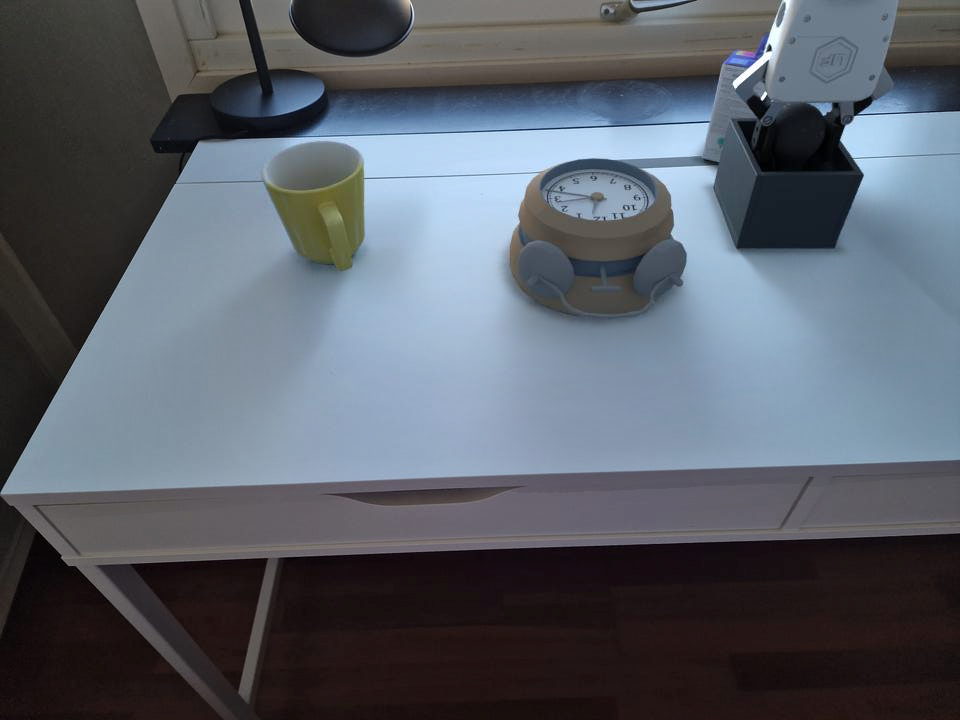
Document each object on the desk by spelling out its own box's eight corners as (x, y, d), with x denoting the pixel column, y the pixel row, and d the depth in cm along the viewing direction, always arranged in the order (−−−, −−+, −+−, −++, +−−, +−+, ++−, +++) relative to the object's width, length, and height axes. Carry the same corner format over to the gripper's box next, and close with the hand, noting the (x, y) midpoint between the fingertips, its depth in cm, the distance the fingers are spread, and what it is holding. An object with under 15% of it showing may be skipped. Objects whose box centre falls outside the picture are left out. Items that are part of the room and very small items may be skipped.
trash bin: (800, 187, 83) (824, 117, 76) (834, 248, 74) (864, 174, 68) (712, 187, 83) (729, 118, 77) (735, 248, 74) (756, 175, 68)
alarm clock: (671, 143, 72) (721, 280, 56) (658, 218, 79) (699, 360, 62) (509, 145, 73) (511, 282, 57) (509, 219, 79) (510, 361, 63)
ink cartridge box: (790, 159, 87) (828, 40, 77) (779, 178, 84) (816, 58, 74) (713, 141, 91) (739, 26, 81) (700, 159, 88) (725, 42, 78)
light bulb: (753, 203, 76) (771, 116, 69) (756, 176, 79) (773, 91, 72) (808, 207, 74) (833, 119, 67) (808, 180, 78) (832, 94, 71)
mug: (285, 229, 79) (262, 145, 72) (373, 218, 80) (360, 134, 73) (283, 305, 70) (256, 216, 62) (383, 291, 71) (369, 202, 63)
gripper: (759, -18, 58) (715, 174, 71) (970, -23, 57) (887, 172, 70) (739, -44, 63) (701, 139, 76) (932, -49, 63) (861, 137, 75)
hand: (791, 153), depth 73 cm, fingers closed on light bulb, 5 cm apart
